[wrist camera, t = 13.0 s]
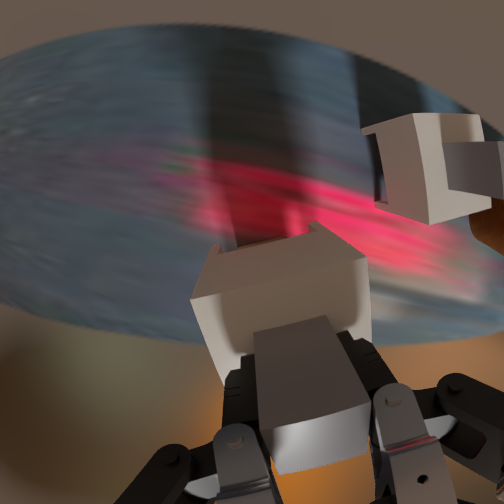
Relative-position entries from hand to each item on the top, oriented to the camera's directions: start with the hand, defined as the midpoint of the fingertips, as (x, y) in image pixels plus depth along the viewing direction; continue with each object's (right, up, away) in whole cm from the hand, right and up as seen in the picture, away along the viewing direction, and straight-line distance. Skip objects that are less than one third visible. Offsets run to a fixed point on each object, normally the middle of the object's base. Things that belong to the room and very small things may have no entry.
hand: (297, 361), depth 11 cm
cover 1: (0, +2, +8) cm, 9 cm away
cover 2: (+11, +12, +11) cm, 20 cm away
